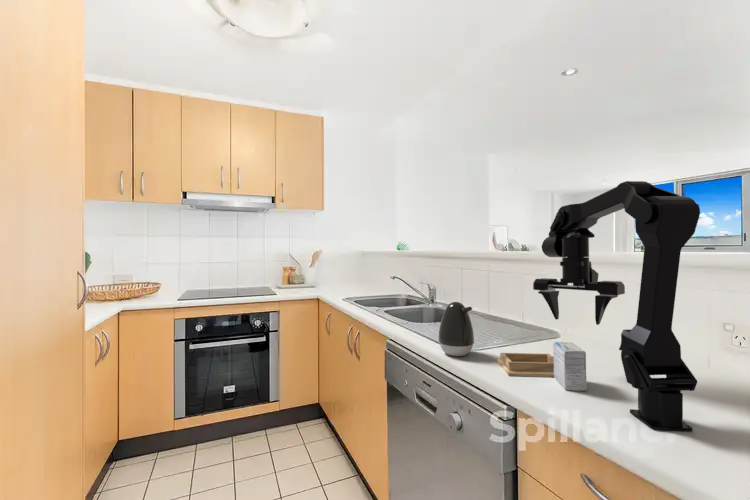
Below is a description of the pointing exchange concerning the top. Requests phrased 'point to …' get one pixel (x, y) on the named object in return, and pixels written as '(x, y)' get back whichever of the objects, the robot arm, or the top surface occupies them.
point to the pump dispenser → (456, 330)
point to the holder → (527, 364)
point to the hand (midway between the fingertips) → (576, 321)
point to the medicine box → (570, 366)
